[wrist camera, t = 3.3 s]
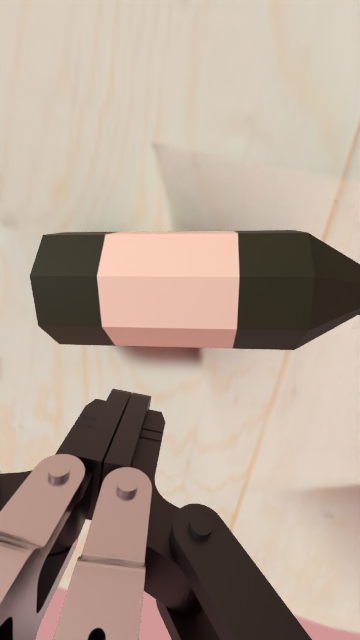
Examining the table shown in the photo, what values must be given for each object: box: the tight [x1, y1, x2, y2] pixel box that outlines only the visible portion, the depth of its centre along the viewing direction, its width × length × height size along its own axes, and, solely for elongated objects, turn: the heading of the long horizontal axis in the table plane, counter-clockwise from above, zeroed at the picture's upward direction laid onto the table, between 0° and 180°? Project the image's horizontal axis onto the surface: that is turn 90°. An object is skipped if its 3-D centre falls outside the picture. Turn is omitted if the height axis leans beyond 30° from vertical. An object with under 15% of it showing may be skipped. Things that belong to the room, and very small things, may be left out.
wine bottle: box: [30, 230, 360, 350], centre depth 21 cm, size 8×8×30 cm
